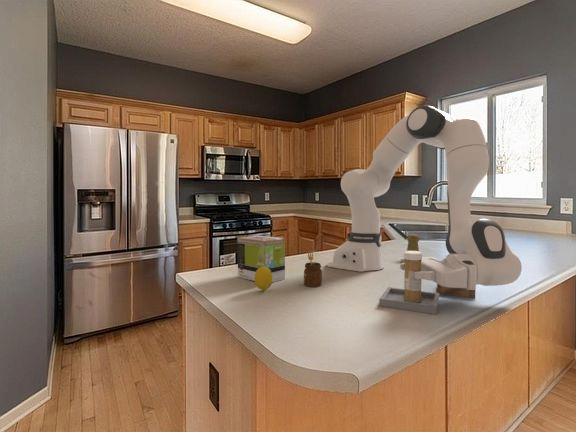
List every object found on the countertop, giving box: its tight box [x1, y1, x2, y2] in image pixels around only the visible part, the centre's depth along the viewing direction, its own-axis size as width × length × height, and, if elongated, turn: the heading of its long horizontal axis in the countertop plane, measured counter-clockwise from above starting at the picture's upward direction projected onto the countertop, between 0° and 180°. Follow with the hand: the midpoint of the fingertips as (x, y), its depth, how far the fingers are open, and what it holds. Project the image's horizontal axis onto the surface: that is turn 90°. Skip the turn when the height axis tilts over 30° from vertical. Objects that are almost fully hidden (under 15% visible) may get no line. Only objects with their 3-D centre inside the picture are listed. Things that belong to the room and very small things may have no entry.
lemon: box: [254, 266, 273, 292], centre depth 103 cm, size 6×6×8 cm
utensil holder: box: [303, 250, 323, 288], centre depth 110 cm, size 6×6×12 cm
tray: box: [378, 286, 440, 315], centre depth 91 cm, size 14×12×2 cm
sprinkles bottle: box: [403, 250, 423, 303], centre depth 91 cm, size 5×5×14 cm
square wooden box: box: [436, 283, 476, 298], centre depth 102 cm, size 10×10×3 cm
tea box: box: [236, 235, 286, 283], centre depth 119 cm, size 15×10×15 cm
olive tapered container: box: [406, 233, 420, 252], centre depth 150 cm, size 6×6×11 cm
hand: (407, 270), depth 91 cm, fingers open, 8 cm apart
